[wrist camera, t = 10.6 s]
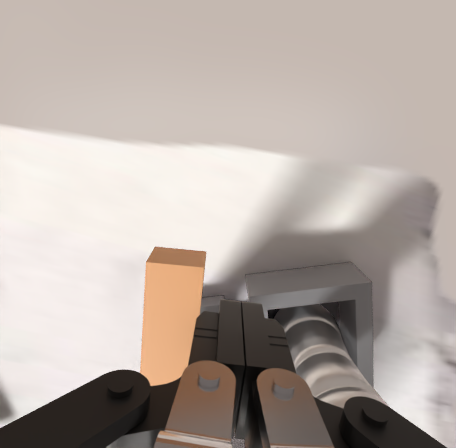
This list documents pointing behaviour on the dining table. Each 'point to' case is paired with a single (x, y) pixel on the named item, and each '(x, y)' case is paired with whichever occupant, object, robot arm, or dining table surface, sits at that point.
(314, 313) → the plastic bottle
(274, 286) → the plug dock
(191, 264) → the slender peach stick
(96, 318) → the dining table surface
